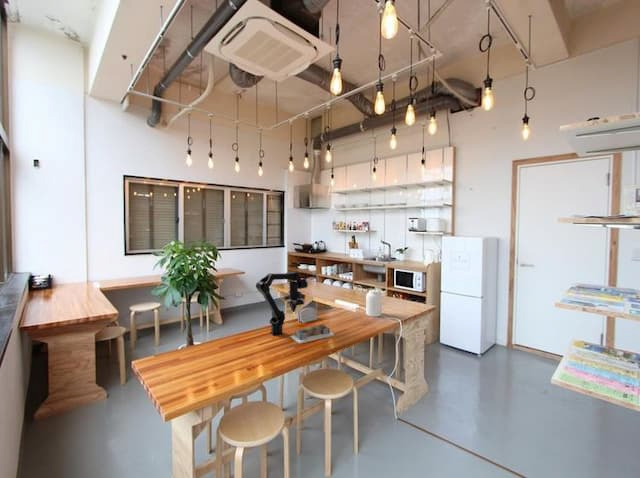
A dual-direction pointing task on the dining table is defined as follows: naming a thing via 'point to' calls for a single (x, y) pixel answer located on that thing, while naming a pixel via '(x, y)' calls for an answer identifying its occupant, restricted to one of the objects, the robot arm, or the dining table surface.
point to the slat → (313, 330)
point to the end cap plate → (303, 337)
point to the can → (374, 303)
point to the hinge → (307, 315)
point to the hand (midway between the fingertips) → (293, 312)
